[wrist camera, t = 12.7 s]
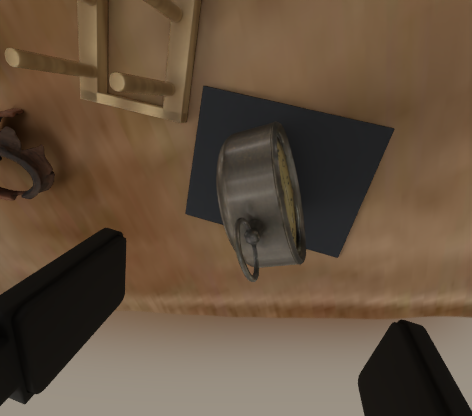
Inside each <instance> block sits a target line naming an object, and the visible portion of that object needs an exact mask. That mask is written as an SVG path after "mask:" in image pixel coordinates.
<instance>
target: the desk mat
mask: <svg viewBox="0 0 472 416" xmlns="http://www.w3.org/2000/svg"><path fill="white" fill-rule="evenodd" d="M275 121H277V122H279V123H281V125H282V126H283V128H284V130H285V132H286V135H287V138H288V142H289V144H290V148H291V152H292V156H293V159H294V164H295V168H296V173H297V178H298V183H299V189H300V194H301V202H302V209H303V215H304V225H305V239H306V249H309V250H312V251H316V252H319V253H323V254H326V255H330V256H333V257H336V258H338V257H339V254H340V252H341V250H342V248H343V245H344V243H345V241H346V238H347V236H348V234H349V232H350V229H351V227H352V225H353V222H354V220H355V218H356V216H357V213H358V211H359V209H360V206H361V204H362V202H363V200H364V197H365V195H366V193H367V190H368V188H369V186H370V184H371V181H372V179H373V177H374V174H375V172H376V170H377V168H378V165H379V163H380V161H381V159H382V156H383V154H384V152H385V149H386V147H387V145H388V143H389V140H390V138H391V136H392V133H393V131H394V128H389V127H385V126H381V125H376V124H372V123H367V122H363V121H358V120H354V119H350V118H345V117H341V116H336V115H332V114H327V113H323V112H319V111H314V110H310V109H305V108H301V107H296V106H292V105H287V104H283V103H279V102H274V101H270V100H265V99H261V98H256V97H252V96H248V95H243V94H239V93H234V92H230V91H225V90H221V89H217V88H212V87H208V86H203V93H202V100H201V107H200V114H199V121H198V128H197V135H196V142H195V149H194V156H193V163H192V171H191V178H190V185H189V192H188V199H187V206H186V213H185V214H187V215H191V216H194V217H198V218H201V219H205V220H208V221H212V222H215V223H219V224H222V225H224V224H223V221H222V217H221V213H220V208H219V203H218V195H217V184H216V175H217V162H218V157H219V153H220V150H221V147H222V145H223V143H224V142H225V140H226V139H227V138H228V137H229V136H230V135H232V134H234V133H237V132H241V131H245V130H248V129H252V128H256V127H259V126H263V125H267V124H270V123H273V122H275Z"/></svg>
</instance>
